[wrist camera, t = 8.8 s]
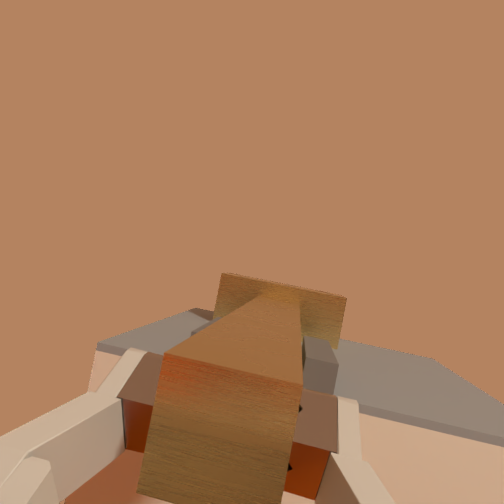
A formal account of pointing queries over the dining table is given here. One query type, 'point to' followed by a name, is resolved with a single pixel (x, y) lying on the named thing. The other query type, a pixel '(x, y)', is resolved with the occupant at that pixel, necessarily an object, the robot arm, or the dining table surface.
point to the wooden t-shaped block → (235, 395)
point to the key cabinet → (370, 415)
